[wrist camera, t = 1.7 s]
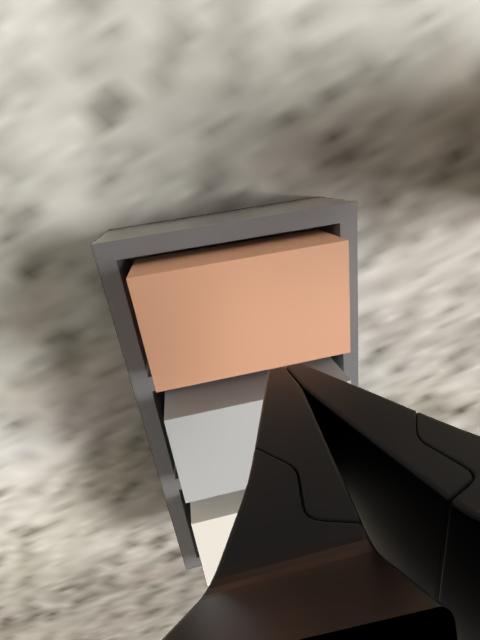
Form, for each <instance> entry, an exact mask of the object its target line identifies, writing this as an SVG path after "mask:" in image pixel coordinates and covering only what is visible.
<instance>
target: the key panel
mask: <svg viewBox="0 0 480 640" xmlns="http://www.w3.org/2000/svg"><path fill="white" fill-rule="evenodd" d="M314 229H318V230H321V231H324V232H327V233H330V234H333V235H335V236H338V237H341V238H344V239H347V240H349V289H350V351H351V352H350V353H345V354H340V355H335V356H331V358H332V359H333V361H334V362H335V363H336V364H337V365H338V366H339V367H340V369H341V370H342V371H343V372H344V373H345V374H346V375H347V377H348V378H349V379H350V380H351V384H352V385H355V386H357V387H358V283H357V202H355V201H347V200H340V199H332V198H324V197H314V198H308V199H301V200H295V201H289V202H282V203H276V204H270V205H263V206H257V207H250V208H244V209H238V210H231V211H225V212H219V213H212V214H206V215H199V216H193V217H187V218H180V219H174V220H168V221H161V222H155V223H149V224H142V225H136V226H129V227H123V228H117V229H110V230H108V231H107V232H106V233H105V234H103V235H102V236H101V237H100V238H98V239H97V240H96V241H95V242H93V243H92V244H91V246H92V250H93V253H94V257H95V260H96V263H97V267H98V270H99V274H100V277H101V281H102V284H103V287H104V291H105V294H106V298H107V301H108V304H109V308H110V311H111V315H112V318H113V321H114V325H115V328H116V332H117V335H118V339H119V342H120V345H121V349H122V352H123V356H124V359H125V362H126V366H127V369H128V373H129V376H130V379H131V383H132V386H133V390H134V393H135V397H136V400H137V403H138V407H139V410H140V414H141V417H142V420H143V424H144V427H145V431H146V434H147V437H148V441H149V444H150V448H151V451H152V455H153V458H154V461H155V465H156V468H157V472H158V475H159V478H160V482H161V485H162V489H163V492H164V495H165V499H166V502H167V506H168V509H169V513H170V516H171V519H172V523H173V526H174V530H175V533H176V536H177V540H178V543H179V547H180V550H181V553H182V557H183V560H184V564H185V567H186V570H187V569H190V568H194V567H198V566H202V563H201V559H200V555H199V552H198V548H197V544H196V540H195V537H194V533H193V529H192V525H191V509H190V502H189V503H185V499H184V495H183V491H182V488H181V484H180V480H179V476H178V472H177V469H176V465H175V461H174V457H173V454H172V450H171V446H170V442H169V438H168V435H167V431H166V427H165V423H164V405H165V391H162V392H157V393H156V389H155V386H154V382H153V378H152V374H151V371H150V367H149V363H148V359H147V355H146V352H145V348H144V344H143V340H142V337H141V333H140V329H139V325H138V322H137V318H136V314H135V310H134V306H133V303H132V299H131V295H130V291H129V288H128V284H127V280H126V278H127V276H128V273H129V271H130V269H131V267H132V265H133V263H134V261H135V259H140V258H146V257H152V256H158V255H164V254H170V253H176V252H182V251H188V250H194V249H200V248H206V247H212V246H218V245H224V244H230V243H236V242H242V241H248V240H254V239H260V238H266V237H272V236H278V235H284V234H290V233H296V232H302V231H308V230H314Z"/></svg>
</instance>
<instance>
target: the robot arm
mask: <svg viewBox="0 0 480 640" xmlns="http://www.w3.org/2000/svg"><path fill="white" fill-rule="evenodd" d="M162 640H480V436H478V435H475V434H472V433H470V432H467V431H464V430H461V429H459V428H456V427H454V426H451V425H449V424H446V423H444V422H441V421H439V420H436V419H434V418H431V417H429V416H427V415H424V414H422V413H416V411H414V410H412V409H410V408H407V407H405V406H402V405H400V404H398V403H395V402H393V401H391V400H388V399H386V398H383V397H381V396H379V395H376V394H374V393H371V392H369V391H367V390H364V389H362V388H360V387H357V386H355V385H352V384H350V383H348V382H345V381H343V380H340V379H338V378H336V377H333V376H331V375H329V374H326V373H324V372H321V371H319V370H317V369H314V368H312V367H309V366H307V365H305V364H302V363H298V364H293V365H288V366H286V368H285V367H278V368H274V369H270V370H269V371H268V375H267V381H266V387H265V393H264V398H263V404H262V410H261V416H260V421H259V427H258V433H257V439H256V444H255V451H254V454H253V460H252V465H251V470H250V474H249V479H248V483H247V486H246V489H245V492H244V495H243V498H242V502H241V505H240V507H239V510H238V513H237V516H236V518H235V521H234V524H233V527H232V529H231V532H230V535H229V538H228V540H227V543H226V546H225V549H224V551H223V554H222V557H221V560H220V562H219V565H218V567H217V570H216V572H215V575H214V577H213V579H212V581H211V583H210V585H209V587H208V589H207V591H206V592H205V593H204V595H203V596H202V598H201V599H200V600H199V602H198V603H197V604H196V605H195V606H194V607H193V608H192V609H191V610H190V611H189V612H188V613H187V614H186V615H185V616H184V617H183V618H182V619H181V620H180V621H179V622H178V624H177V625H176V626H175V627H174V628H173V629H172V630H171V631H170V632H169V633H168V634H167V635H166V636H165V637H164V638H163V639H162Z"/></svg>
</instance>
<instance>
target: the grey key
mask: <svg viewBox="0 0 480 640" xmlns="http://www.w3.org/2000/svg"><path fill="white" fill-rule="evenodd" d="M297 364H298V363H297ZM302 364H305V365H307V366H309V367H312V368H314V369H317V370H319V371H321V372H324V373H326V374H329V375H331V376H333V377H336V378H338V379H340V380H343V381H345V382H348V383H350V384H351V380H350V379H349V378H348V377H347V375H346V374H345V373H344V372H343V371H342V370H341V369H340V367H339V366H338V365H337V364H336V363H335V362H334V361H333V359H332V358H331V357H326V358H321V359H316V360H311V361H306V362H302ZM292 365H293V364H292ZM287 366H288V365H287ZM282 367H285V368H286V366H282ZM277 368H278V367H277ZM273 369H274V368H273ZM269 370H270V369H268V370H263V371H258V372H253V373H248V374H244V375H239V376H234V377H229V378H224V379H220V380H215V381H210V382H205V383H200V384H195V385H191V386H186V387H181V388H176V389H171V390H166V391H165V405H164V423H165V427H166V431H167V435H168V438H169V442H170V446H171V450H172V454H173V457H174V461H175V465H176V469H177V472H178V476H179V480H180V484H181V488H182V491H183V495H184V499H185V503H189V502H193V501H197V500H202V499H206V498H210V497H214V496H218V495H222V494H226V493H231V492H235V491H239V490H243V489H246V486H247V483H248V479H249V474H250V470H251V465H252V460H253V454H254V451H255V444H256V439H257V433H258V427H259V421H260V416H261V410H262V404H263V398H264V393H265V387H266V381H267V375H268V371H269Z"/></svg>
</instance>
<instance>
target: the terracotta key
mask: <svg viewBox="0 0 480 640" xmlns="http://www.w3.org/2000/svg"><path fill="white" fill-rule="evenodd" d="M126 280H127V284H128V288H129V291H130V295H131V299H132V303H133V306H134V310H135V314H136V318H137V322H138V325H139V329H140V333H141V337H142V340H143V344H144V348H145V352H146V355H147V359H148V363H149V367H150V371H151V374H152V378H153V382H154V386H155V389H156V393H157V392H162V391H166V390H171V389H176V388H181V387H186V386H191V385H195V384H200V383H205V382H210V381H215V380H220V379H224V378H229V377H234V376H239V375H244V374H248V373H253V372H258V371H263V370H268V369H273V368H277V367H282V366H287V365H292V364H297V363H302V362H306V361H311V360H316V359H321V358H326V357H331V356H335V355H340V354H345V353H350V352H351V351H350V289H349V240H347V239H344V238H341V237H338V236H335V235H333V234H330V233H327V232H324V231H321V230H318V229H314V230H308V231H302V232H296V233H290V234H284V235H278V236H272V237H266V238H260V239H254V240H248V241H242V242H236V243H230V244H224V245H218V246H212V247H206V248H200V249H194V250H188V251H182V252H176V253H170V254H164V255H158V256H152V257H146V258H140V259H135V261H134V263H133V265H132V267H131V269H130V271H129V273H128V276H127V278H126Z"/></svg>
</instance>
